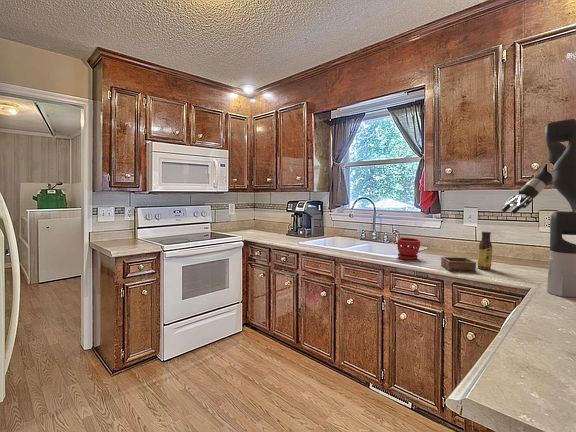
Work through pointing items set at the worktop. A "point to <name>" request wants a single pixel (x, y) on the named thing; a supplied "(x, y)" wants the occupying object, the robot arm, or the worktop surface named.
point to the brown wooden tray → (458, 264)
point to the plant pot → (408, 248)
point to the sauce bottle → (485, 252)
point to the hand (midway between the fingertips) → (507, 211)
